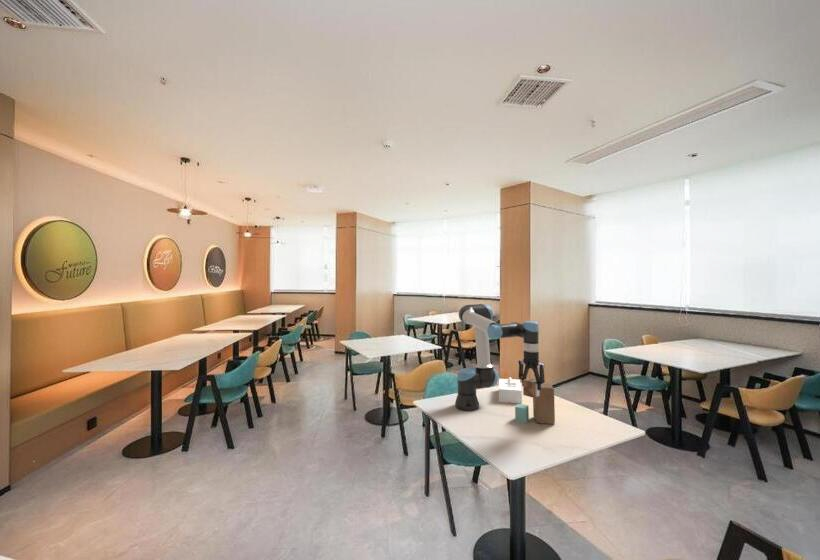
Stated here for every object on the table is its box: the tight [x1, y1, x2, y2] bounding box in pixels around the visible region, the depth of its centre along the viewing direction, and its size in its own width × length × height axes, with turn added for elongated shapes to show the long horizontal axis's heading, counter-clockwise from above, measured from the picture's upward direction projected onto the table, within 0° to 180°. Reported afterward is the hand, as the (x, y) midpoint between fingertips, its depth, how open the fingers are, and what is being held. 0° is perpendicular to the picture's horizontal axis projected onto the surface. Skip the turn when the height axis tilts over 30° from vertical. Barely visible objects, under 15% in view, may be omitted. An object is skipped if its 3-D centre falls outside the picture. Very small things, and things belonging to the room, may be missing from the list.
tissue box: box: [498, 376, 523, 404], centre depth 229 cm, size 14×25×11 cm, turn 164°
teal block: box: [514, 403, 530, 424], centre depth 188 cm, size 6×6×8 cm
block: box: [532, 382, 556, 425], centre depth 187 cm, size 10×10×20 cm
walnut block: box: [522, 377, 540, 399], centre depth 175 cm, size 6×6×8 cm
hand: (531, 394), depth 175 cm, fingers closed on walnut block, 6 cm apart
